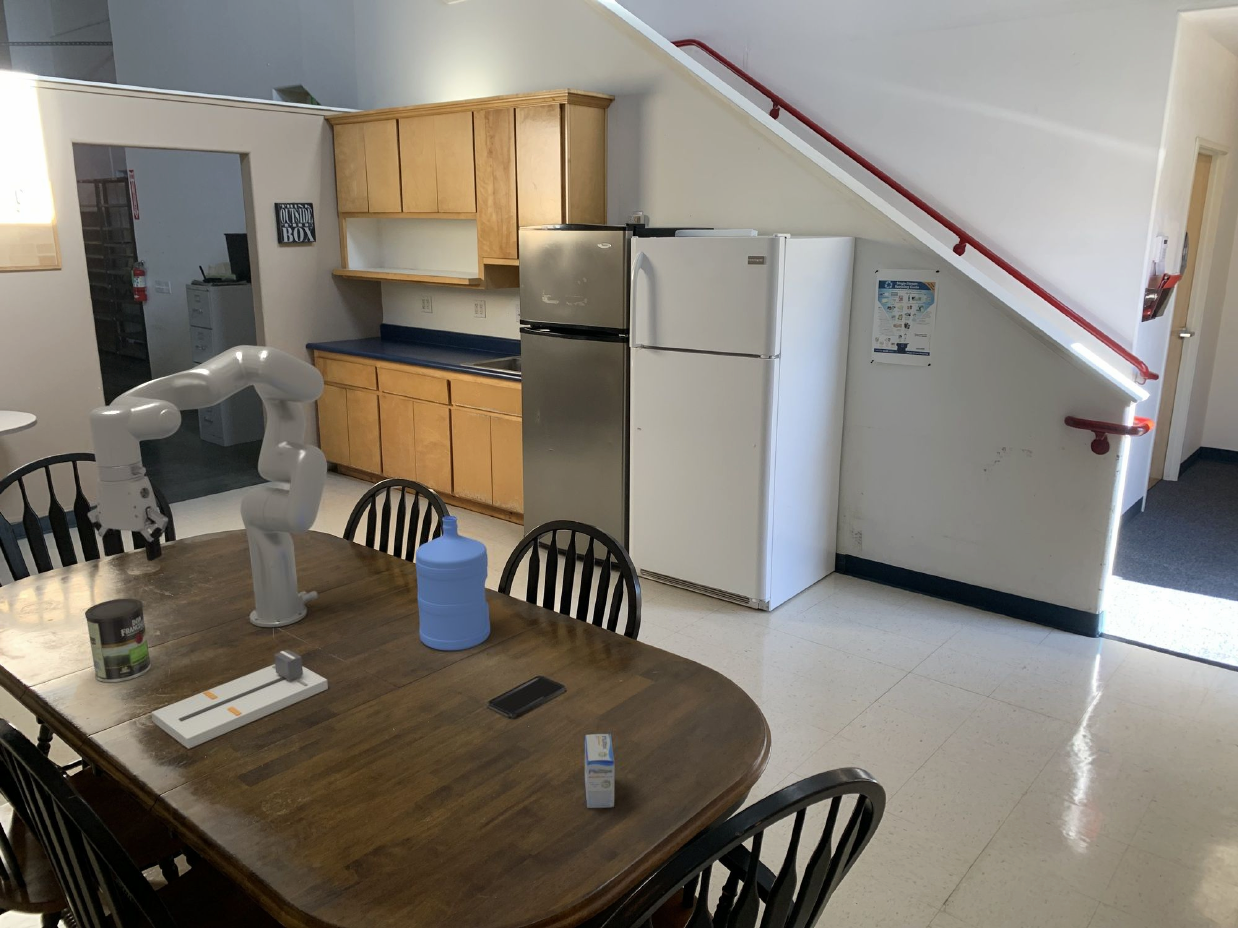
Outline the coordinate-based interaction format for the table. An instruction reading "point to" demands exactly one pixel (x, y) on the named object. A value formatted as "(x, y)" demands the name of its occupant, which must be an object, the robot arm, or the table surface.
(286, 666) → the fader knob
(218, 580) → the table surface
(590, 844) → the table surface
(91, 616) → the coffee can
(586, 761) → the medicine box
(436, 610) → the water jug
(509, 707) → the phone
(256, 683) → the fader board
